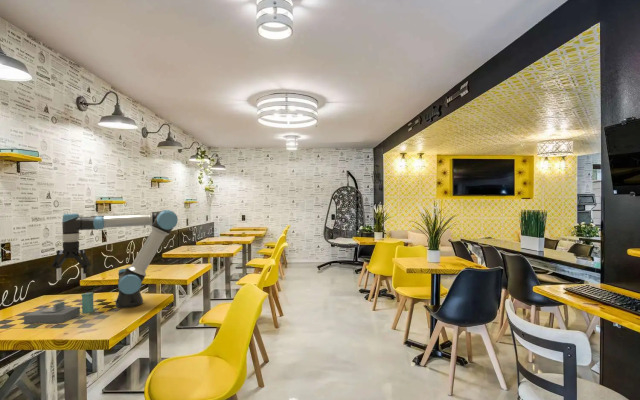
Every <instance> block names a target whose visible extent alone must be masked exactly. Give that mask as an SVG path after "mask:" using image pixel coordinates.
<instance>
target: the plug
mask: <svg viewBox="0 0 640 400" xmlns="http://www.w3.org/2000/svg"><path fill="white" fill-rule="evenodd" d="M94 295H95V293H94V292H85V293H82V294H81V305H82V306H81V313H82V314H90V313H92V312H93V313H94Z"/></svg>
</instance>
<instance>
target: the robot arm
mask: <svg viewBox="0 0 640 400" xmlns="http://www.w3.org/2000/svg"><path fill="white" fill-rule="evenodd" d="M178 220H179V219H178V215H177V214H176V213H175V211H172V210H170V209H165V210H164V209H163V210H159V211H151V212H149V213H138V214H137V213H136V214H109V215H91V216H80V213H64V214H63V215H62V223H61V224H62V249H59V250H56V254H55V257H54V259H53V261H52V264H51V266H50V267H51V268H54V272H55V273H54V274H55V275H56V281H61V280H62V267H61V266H63V264H64V263H65V261H66V260H68V259H75V260H76V261H77V262H78V263H79V265H80V266H81V268H80V276H81V277H80V279H81V281H83V280H86V278H87V275H86V274H87V273H88V267H91V265H92V264H91V262H90V260H89V258H88V256H87V254H86V250H85V249H80V241H79V240H80V231H88V230H89V231H90V230H91V231H93V230H96V231H98V230H104V229H106V228H107V229H108V228H124V227H125V228H127V227H128V228H129V227H145V226H146V227H147V226H149V227H151V229H152V230H151V232H150V233H149V234H148V236H147V238H146V239H145V241H144V243H143V244H142V246H141V249H140V250H139V252H138V253H137V255H136V257H135V259H134V260H133V262H132V263H131V265H130V266H126V268H120V269H119V270H118V273H117V275H118V283H117V287H118V295H117V298H116V300H115V308H118V309H128V308H134V307H138V305H139V306H141V305H143V304H144V298H143V296H142V294H141V287H142V283H143V281H144V280H145V277H146V276H147V274H146V270H147V269H148V268H149V266H150V263H152V260H153V258H154V257H155V255H156V254H157V252H158V250H159V248H160V246H161V244H162V243H163V241H164V240H165V238H166V237H167V236H168V235H169V236H170V235H171V232H172V231H173V229H174V228H175V227H176V226H177V225H178ZM142 303H143V304H142ZM140 304H141V305H140Z"/></svg>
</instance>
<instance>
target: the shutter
mask: <svg viewBox="0 0 640 400" xmlns="http://www.w3.org/2000/svg"><path fill="white" fill-rule="evenodd" d="M65 307H66V306H65V301H60V302H58V303H55V304H53V306H50V307H47V308H48V309H45V310H43V311H41V313H49V312H57V311H59V310H62V309H64V308H65Z"/></svg>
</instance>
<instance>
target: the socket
mask: <svg viewBox="0 0 640 400" xmlns="http://www.w3.org/2000/svg"><path fill="white" fill-rule="evenodd" d="M64 307H65V308H64V309H62V310H59V311H57V312H49V313H41V311H43V310H45V309H48V308H49V307H41V308H40V309H37V310H34V311H32V312H29V313H27V314H24V315H23V324H24V325H31V324H32V325H37V324H38V325H39V324H41V325H43V324H64V323H66V322H67V321H70V320H72V319H74V318H76V317H79V316H80V314H81V306H64Z"/></svg>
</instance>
